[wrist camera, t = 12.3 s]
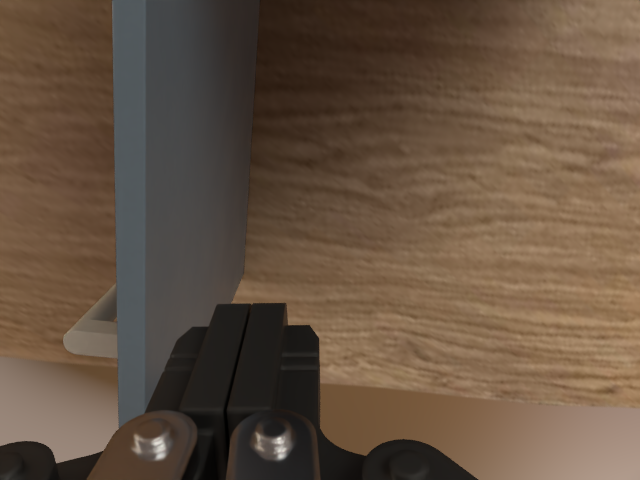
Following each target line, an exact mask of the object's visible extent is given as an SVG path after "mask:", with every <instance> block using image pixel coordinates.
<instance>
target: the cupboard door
mask: <svg viewBox="0 0 640 480" xmlns="http://www.w3.org/2000/svg"><path fill="white" fill-rule="evenodd" d="M259 9H260V0H112V37H113V100H114V163H115V225H116V283H115V284H114V285H113V286H112V287H111V288H110V289H109V290H108V291H107V292H106V293H105V294H104V295H103V296H102V297H101V298H100V299H99V300H98V301H97V302H96V303H95V304H94V305H93V306H92V307H91V308H90V309H89V310H88V312H87V313H86V314H85V315H84V316H83V317H82V318H81V319H80V320H79V321H78V322H77V323H76V324H75V325H74V326H73V327H72V328H71V329H70V330H69V331H68V332H67V333H66V334H65V335H64V338H63V344H64V346H65V348H66V349H67V350H68V351H69V352H71V353H73V354H78V355H87V356H97V357H108V358H118V412H119V413H118V414H119V428H120V427H121V426H122V425H124V424H125V423H126V422H128V421H129V420H131V419H133V418H135V417H137V416H139V415H142V414H144V413H145V411H146V408H147V406H148V404H149V402H150V399H151V397H152V395H153V393H154V390H155V388H156V386H157V384H158V381H159V379H160V377H161V375H162V372H164V368H165V366H166V363H167V361H168V359H170V354H171V352H172V350H173V348H174V345H175V343H176V341H177V340H178V339H179V338H180V337H181V336H182V335H183V334H184V333H186V332H187V331H188V330H189V329H190V328H191V327H202V326H209V324H210V321H211V319H212V316H213V313H214V310H215V308H216V305H217V304H231V302H232V300H233V298H234V295H235V293H236V291H237V288H238V286H239V283H240V281H241V279H242V276H243V274H244V259H245V242H246V225H247V209H248V192H249V175H250V159H251V142H252V125H253V109H254V92H255V76H256V59H257V42H258V26H259ZM116 317H117V322H113V321H114V319H115V318H116Z"/></svg>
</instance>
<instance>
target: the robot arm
mask: <svg viewBox="0 0 640 480" xmlns="http://www.w3.org/2000/svg"><path fill="white" fill-rule="evenodd" d="M0 480H478V479H477V478H475V477H474V476H472V475H471V474H470V473H469V472H467V471H466V470H464V469H463V468H462V467H460V466H459V465H458V464H456V463H455V462H454V461H452V460H451V459H450V458H448V457H447V456H445V455H444V454H443V453H442V452H440V451H439V450H437V449H436V448H434V447H432V446H430V445H428V444H425V443H422V442H419V441H414V440H405V439H402V440H393V441H388V442H385V443H382V444H380V445H378V446H377V447H376V448H374V449H373V450H371V452H370V453H369V454H368V455H367V456H364V455H360V454H355V453H352V452H349V451H346V450H344V449H341V448H339V447H338V446H336V445H334V444H333V443H332V442H330V441H329V440H328V439H327V438H326V437H325V436H324V434H323V433H322V431H321V429H320V362H319V338H318V336H317V335H316V333H315V332H314V331H313V329H312V328H311V327H310V325H288V320H287V305H286V303H253V304H252V305H251V304H217V305H216V308H215V310H214V313H213V316H212V319H211V321H210V324H209V326H202V327H191V328H190V329H189V330H188V331H187V332H186V333H184V334H183V335H182V336H181V337H180V338H179V339H178V340H177V341H176V343H175V345H174V348H173V350H172V352H171V354H170V359H168V361H167V363H166V366H165V368H164V372H162V375H161V377H160V379H159V381H158V384H157V386H156V388H155V390H154V393H153V395H152V397H151V399H150V402H149V404H148V406H147V408H146V411H145V413H144V414H142V415H139V416H137V417H135V418H133V419H131V420H129V421H128V422H126V423H125V424H124V425H122V426H121V427H120V428H119V429H118V430H117V431H116V432H115V434H114V435H113V436H112V438H111V440H110V441H109V443H108V444H107V446H106V448H105V449H104V451H102V452H99V453H96V454H93V455H89V456H86V457H81V458H77V459H73V460H69V461H65V462H61V463H56V462H55V458H54V455H53V452H52V451H51V449H50V448H49V447H47V446H46V445H44V444H41V443H38V442H31V441H22V442H15V443H10V444H7V445H3V446H0Z"/></svg>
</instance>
